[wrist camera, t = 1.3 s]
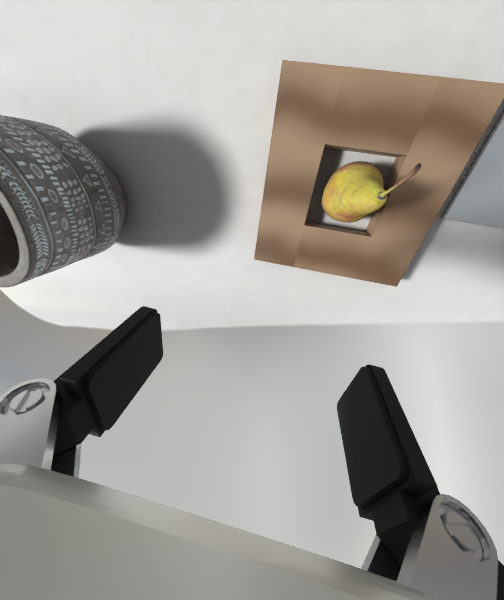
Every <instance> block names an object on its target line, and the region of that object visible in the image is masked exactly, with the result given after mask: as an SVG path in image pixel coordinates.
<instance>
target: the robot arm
mask: <svg viewBox="0 0 504 600" xmlns="http://www.w3.org/2000/svg"><path fill="white" fill-rule="evenodd" d="M162 356H163V346H162V333H161V321H160V314H159V313H157V310H156V309H152V308H149V307H145V306H143V307H141V308H140V309H138V310H137V311H136V312H135V313H134V314H132V315H131V316H130V317H129V318H128V319H127V320H125V321H124V322H123V323H122V324H121V325H119V326H118V327H117V328H116V329H115V330H114V331H112V332H111V333H110V334H109V335H108V336H107V337H106V338H104V339H103V340H102V341H101V342H99V343H98V344H97V345H96V346H95V347H94V348H92V349H91V350H90V351H89V352H88V353H86V354H85V355H84V356H83V357H82V358H81V359H79V360H78V361H77V362H76V363H75V364H73V365H72V366H71V367H70V368H69V369H68V370H66V371H65V372H64V373H63V374H62V375H61V376H59V377H58V378H57V379H56V380H55V381H52V380H50V379H47V378H37V379H31V380H28V381H25V382H22V383H20V384H17V385H15V386H13V387H12V388H10V389H9V390H7V391H6V392H4V393H3V394H2V395H1V396H0V600H504V565H503V564H501V563H500V561H499V560H498V557H497V551H496V548H495V546H494V543H493V541H492V539H491V537H490V535H489V533H488V532H487V530H486V528H485V527H484V526H483V524H482V523H481V522H480V521H479V519H478V518H477V517H476V516H475V515H474V514H473V513H472V512H471V511H470V510H469V509H468V507H466V506H465V505H464V504H462V503H461V502H460V501H459V500H457V499H455V498H453V497H451V496H449V495H444V494H441V495H440V493H439V491H438V488H437V485H436V482H435V480H434V478H433V476H432V473H431V471H430V469H429V467H428V465H427V462H426V460H425V458H424V456H423V454H422V451H421V449H420V447H419V445H418V443H417V441H416V438H415V436H414V434H413V431H412V429H411V427H410V425H409V423H408V420H407V418H406V416H405V414H404V412H403V409H402V407H401V405H400V403H399V401H398V398H397V396H396V394H395V392H394V390H393V387H392V385H391V383H390V381H389V379H388V377H387V374H386V372H385V370H384V369H383V368H380V367H377V366H373V365H366V366H365V367H361V369H360V370H359V372H358V373H357V375H356V376H355V377H354V379H353V380H352V382H351V383H350V385H349V386H348V388H347V390H346V391H345V392H344V394H343V395H342V397H341V398H340V400H339V401H338V404H337V411H338V417H339V423H340V429H341V434H342V440H343V446H344V451H345V457H346V463H347V469H348V474H349V480H350V486H351V492H352V497H353V501H354V503H355V505H356V506H358V510H359V515H360V517H363V518H367V519H370V520H373V521H374V524H375V529H376V533H377V534H376V536H375V538H374V541H373V543H372V545H371V547H370V550H369V552H368V554H367V556H366V559H365V561H364V564H363V565H362V568H361V569H360V568H356V567H354V566H351V565H348V564H345V563H342V562H339V561H336V560H333V559H330V558H327V557H324V556H321V555H318V554H315V553H312V552H309V551H306V550H302V549H299V548H296V547H293V546H290V545H287V544H284V543H281V542H278V541H275V540H272V539H269V538H266V537H262V536H260V535H256V534H253V533H250V532H247V531H244V530H241V529H238V528H234V527H232V526H228V525H225V524H222V523H219V522H216V521H213V520H209V519H207V518H203V517H200V516H197V515H194V514H191V513H188V512H184V511H182V510H178V509H175V508H172V507H169V506H166V505H163V504H159V503H156V502H153V501H150V500H147V499H144V498H141V497H137V496H134V495H131V494H128V493H125V492H121V491H118V490H115V489H112V488H109V487H106V486H102V485H99V484H96V483H93V482H89V481H86V480H82V479H79V468H80V453H81V443H82V441H83V440H84V439H85V438H86V436H87V435H88V434H91V435H94V436H98V437H101V435H102V434H103V433H104V431H105V430H109V429H110V428H111V427H112V426H113V425H114V423H115V422H116V421H117V419H118V418H119V417H120V415H121V414H122V413H123V411H124V410H125V409H126V407H127V406H128V404H129V403H130V402H131V400H132V399H133V398H134V396H135V395H136V394H137V392H138V391H139V389H140V388H141V387H142V385H143V384H144V383H145V381H146V380H147V379H148V377H149V376H150V374H151V373H152V372H153V370H154V369H155V368H156V366H157V365H158V364H159V362H160V361H161V359H162Z"/></svg>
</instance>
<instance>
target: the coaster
mask: <svg viewBox="0 0 504 600" xmlns="http://www.w3.org/2000/svg"><path fill="white" fill-rule="evenodd" d="M442 218H443V219H448V220H455V221H461V222H467V223H473V224H479V225H486V226H492V227H498V228H504V111H503V113H502V115H501V116H500V118H499V120H498V121H497V123H496V125H495V127H494V128H493V130H492V132H491V133H490V135H489V137H488V139H487V140H486V142H485V144H484V145H483V147H482V149H481V151H480V152H479V154H478V156H477V157H476V159H475V161H474V163H473V164H472V166H471V168H470V169H469V171H468V173H467V175H466V176H465V178H464V180H463V182H462V183H461V185H460V187H459V188H458V190H457V192H456V194H455V195H454V197H453V199H452V200H451V202H450V204H449V206H448V207H447V209H446V211H445V212H444V214H443V216H442Z"/></svg>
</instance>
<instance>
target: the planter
mask: <svg viewBox="0 0 504 600" xmlns="http://www.w3.org/2000/svg"><path fill="white" fill-rule="evenodd" d="M125 215H126V199H125V195H124V192H123V189H122V187H121V185H120V183H119V181H118V179H117V178H116V176H115V175H114V173H113V172H112V171H111V170H110V168H109V167H108V166H107V165H106V164H105V163H104V162H103V161H102V160H101V159H100V158H99V157H98V156H97V155H96V154H95V153H93V152H92V151H91V150H90V149H89V148H88V147H86V146H85V145H84V144H83V143H81V142H80V141H79V140H77V139H76V138H75V137H73V136H72V135H70V134H69V133H67V132H65V131H63V130H61V129H59V128H57V127H54V126H51V125H48V124H44V123H39V122H35V121H31V120H25V119H20V118H14V117H8V116H2V115H0V287H11V286H15V285H18V284H20V283H23V282H25V281H28V280H30V279H33V278H35V277H38V276H41V275H44V274H47V273H49V272H52V271H55V270H57V269H60V268H62V267H65V266H67V265H70V264H72V263H74V262H76V261H79V260H82V259H85V258H88V257H90V256H93V255H95V254H98V253H100V252H102V251H104V250H106V249H108V248H110V247H111V246H112V245H113V244H114V243H115V241H116V240H117V238H118V236H119V234H120V232H121V229H122V227H123V224H124V220H125Z"/></svg>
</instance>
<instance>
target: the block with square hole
mask: <svg viewBox="0 0 504 600" xmlns="http://www.w3.org/2000/svg"><path fill="white" fill-rule="evenodd" d="M503 99H504V84H503V83H493V82H484V81H475V80H465V79H456V78H447V77H437V76H428V75H418V74H409V73H400V72H390V71H381V70H372V69H362V68H353V67H344V66H334V65H325V64H315V63H306V62H297V61H287V60H282V67H281V74H280V81H279V88H278V95H277V102H276V109H275V116H274V123H273V130H272V138H271V145H270V152H269V159H268V166H267V173H266V180H265V187H264V194H263V201H262V208H261V215H260V222H259V229H258V236H257V243H256V250H255V257H254V259H255V260H260V261H265V262H271V263H276V264H281V265H286V266H292V267H297V268H302V269H307V270H312V271H318V272H323V273H328V274H333V275H339V276H344V277H349V278H354V279H360V280H365V281H370V282H375V283H381V284H386V285H391V286H396V287H397V285H398V283H399V282H400V280H401V278H402V276H403V274H404V273H405V271H406V269H407V267H408V266H409V264H410V262H411V260H412V259H413V257H414V255H415V253H416V252H417V250H418V248H419V246H420V245H421V243H422V241H423V239H424V238H425V236H426V234H427V232H428V230H429V229H430V227H431V225H432V223H433V222H434V220H435V218H436V216H437V215H438V213H439V211H440V209H441V208H442V206H443V204H444V202H445V201H446V199H447V197H448V195H449V194H450V192H451V190H452V188H453V187H454V185H455V183H456V181H457V179H458V178H459V176H460V174H461V172H462V171H463V169H464V167H465V165H466V164H467V162H468V160H469V158H470V157H471V155H472V153H473V151H474V150H475V148H476V146H477V144H478V143H479V141H480V139H481V137H482V135H483V134H484V132H485V130H486V128H487V127H488V125H489V123H490V121H491V120H492V118H493V116H494V114H495V113H496V111H497V109H498V107H499V106H500V104H501V102H502V100H503ZM324 147H326V148H333V149H340V150H347V151H355V152H362V153H369V154H376V155H383V156H390V157H396V159H395V161H394V164H393V166H392V169H391V171H390V174H389V176H388V178H387V181H386V183H385V186H384V190H385V191H387V190H388V189H389V188H391V187H393V186H394V185H395V184H397V183H398V182H399V181H400V180H402V179H403V178H404V177H405V176H407V175H408V174H409V173H410V172H411V171H412V170H413V169H414V167H415V166H416V165H417V164H418V163H420V164H421V168H420V170H419V171H418V172H417V173H416V174H415V175H414V176H412V177H411V178H410V179H408V180H407V181H405V182H404V183H402V184H401V185H399V186H398V187H396V188H395V189H394V190H392V191H391V192H389V193H388V194H387V200H386V202H385V203H384V205H383V206H382V207H381V208H379V209H378V210H376V211H374V212H373V215H372V217H371V220H370V222H369V225H368V227H367V229H366V232H363V231H357V230H352V229H346V228H340V227H334V226H328V225H322V224H317V223H311V222H305V220H306V216H307V212H308V209H309V205H310V201H311V197H312V193H313V189H314V185H315V181H316V177H317V173H318V169H319V165H320V161H321V157H322V153H323V149H324Z"/></svg>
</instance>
